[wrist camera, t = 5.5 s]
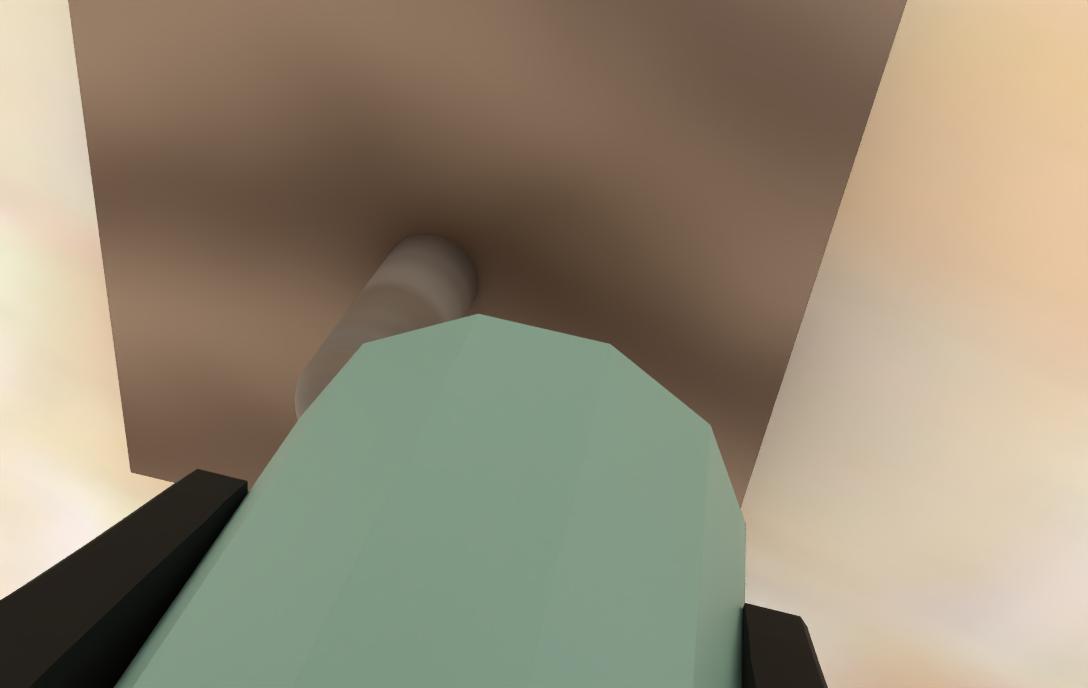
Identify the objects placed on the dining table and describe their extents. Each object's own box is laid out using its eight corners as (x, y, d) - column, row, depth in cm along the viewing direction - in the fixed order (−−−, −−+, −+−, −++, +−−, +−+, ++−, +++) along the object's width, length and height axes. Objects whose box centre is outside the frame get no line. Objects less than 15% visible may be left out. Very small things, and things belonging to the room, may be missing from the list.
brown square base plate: (708, 579, 24) (694, 818, 19) (151, 448, 25) (-14, 636, 20) (909, -46, 16) (989, 55, 11) (77, -191, 17) (-233, -167, 12)
